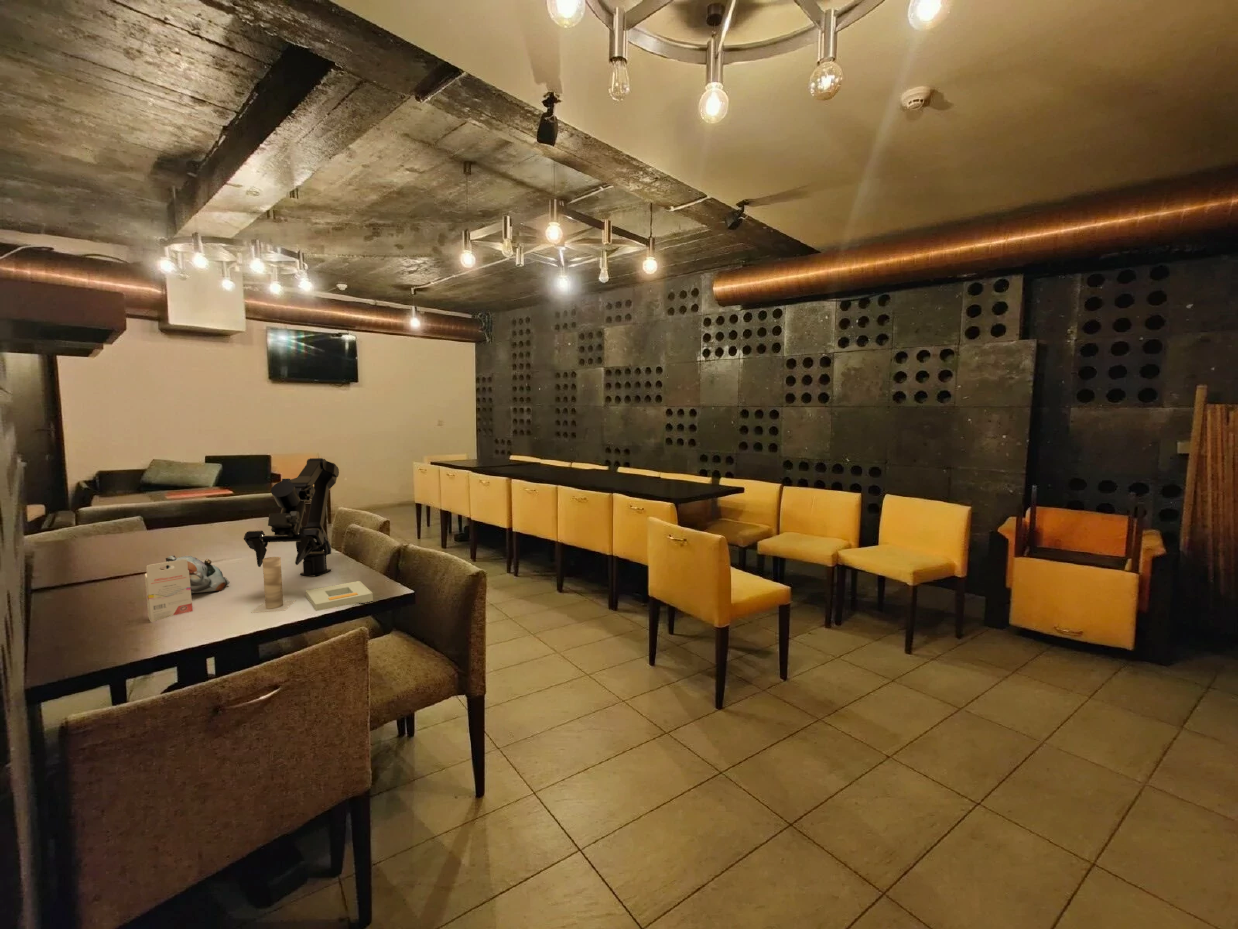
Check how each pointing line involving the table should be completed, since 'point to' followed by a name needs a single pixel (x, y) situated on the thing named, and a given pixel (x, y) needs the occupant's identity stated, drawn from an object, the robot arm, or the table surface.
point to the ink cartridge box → (168, 590)
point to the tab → (285, 606)
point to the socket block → (338, 595)
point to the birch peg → (272, 582)
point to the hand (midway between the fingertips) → (277, 565)
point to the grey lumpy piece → (202, 574)
